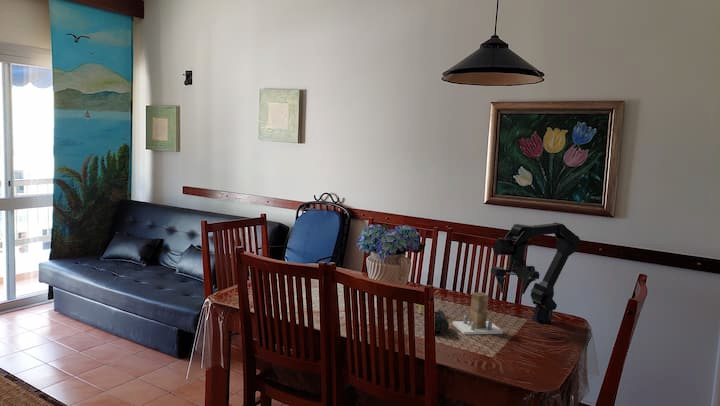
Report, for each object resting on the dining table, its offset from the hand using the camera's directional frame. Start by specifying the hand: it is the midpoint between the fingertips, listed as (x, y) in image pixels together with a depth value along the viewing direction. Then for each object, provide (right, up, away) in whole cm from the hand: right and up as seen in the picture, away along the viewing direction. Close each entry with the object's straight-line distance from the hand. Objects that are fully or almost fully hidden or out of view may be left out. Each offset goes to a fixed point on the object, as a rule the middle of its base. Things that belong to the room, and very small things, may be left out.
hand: (512, 293), depth 204 cm
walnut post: (-16, -12, -7) cm, 21 cm away
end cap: (-32, -13, -11) cm, 36 cm away
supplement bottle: (-34, -10, +9) cm, 37 cm away
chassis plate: (-16, -13, -7) cm, 21 cm away
